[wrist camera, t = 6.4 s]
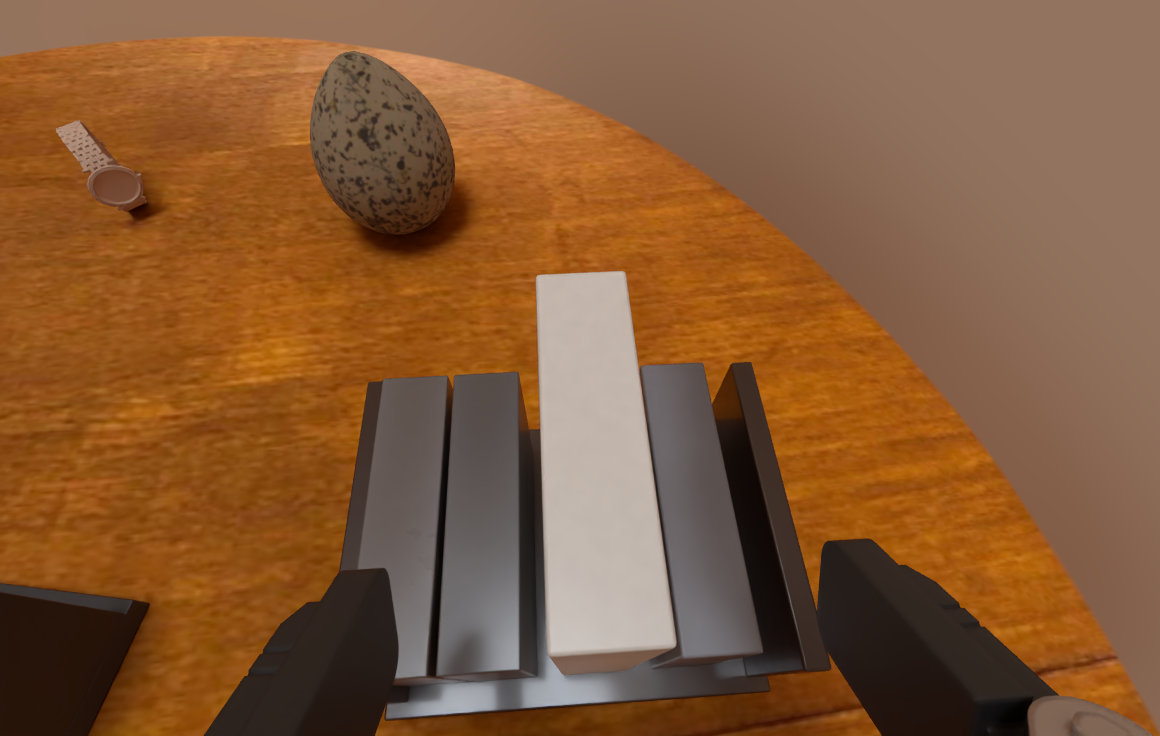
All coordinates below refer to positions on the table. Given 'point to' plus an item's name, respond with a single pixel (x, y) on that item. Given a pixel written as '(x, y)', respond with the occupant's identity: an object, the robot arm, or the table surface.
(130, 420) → the table surface
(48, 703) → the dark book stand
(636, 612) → the white book
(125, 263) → the table surface
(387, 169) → the decorative egg
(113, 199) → the pink wristwatch
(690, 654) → the grey rack
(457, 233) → the table surface
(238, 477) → the table surface
